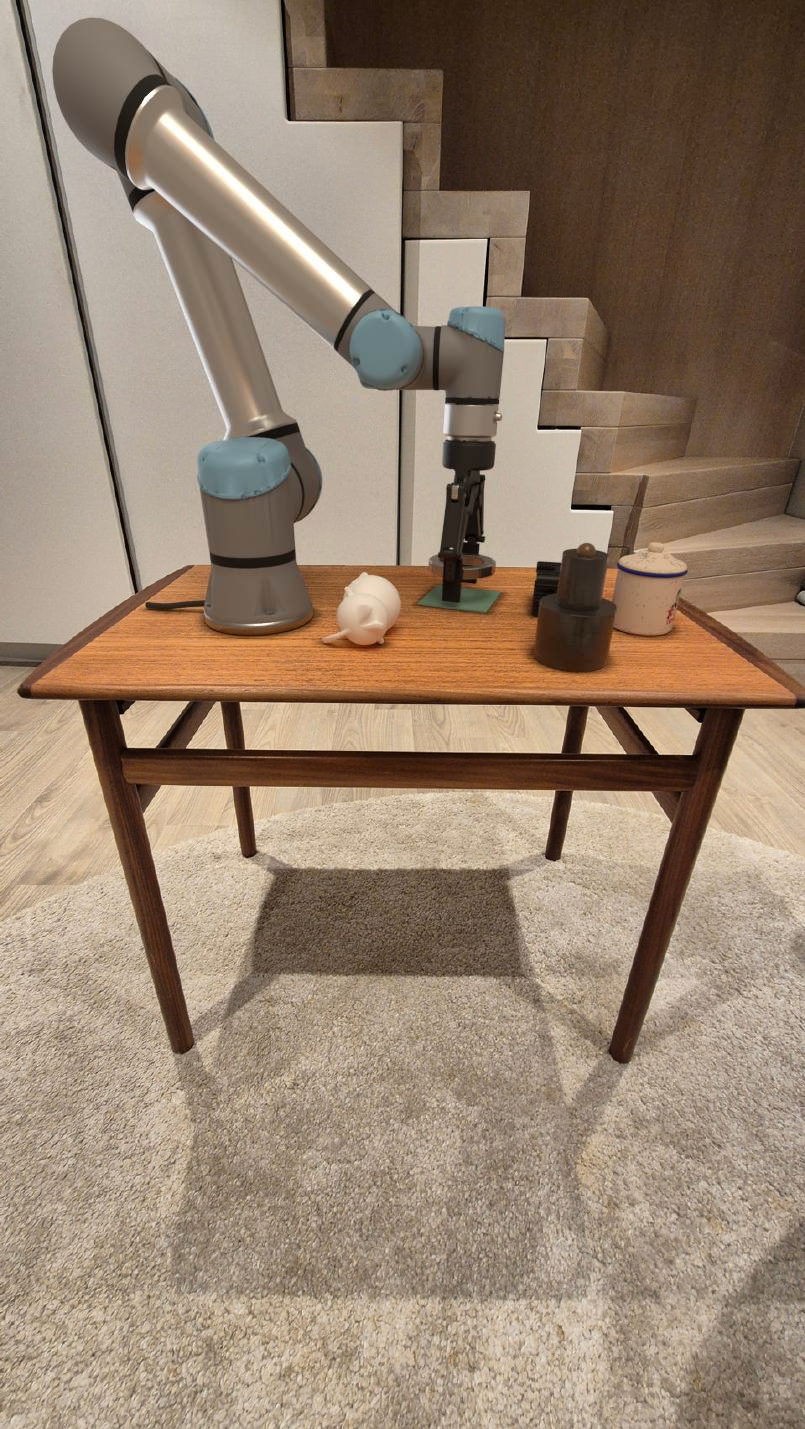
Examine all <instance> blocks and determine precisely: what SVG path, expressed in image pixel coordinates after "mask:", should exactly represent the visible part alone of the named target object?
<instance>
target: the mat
mask: <svg viewBox="0 0 805 1429" xmlns="http://www.w3.org/2000/svg"><path fill="white" fill-rule="evenodd" d="M442 585H443V584H437V585H435V587H433V588H432V589H431V590H430V591H429V592H427V594H425V595H424V597H422V598H421V599H420V600H419V601H418V602H417V603H416V604H417V606H421V607H422V606H424V607H432V608H439V609H447V610H454V611H455V610H456V611H463V612H471V613H481V614H488V612H489V611H490V610H491V608H492V607H493V605H494V604H495V602H496V601H497V600H498V599H499V597H500V595H501V594H502V591H499V590H491V589H482V588H481V589H480V588H471V587H462V586H461V596H460V602H459V603H456V602H448V601H442Z"/></svg>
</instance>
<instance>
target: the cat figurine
mask: <svg viewBox="0 0 805 1429" xmlns="http://www.w3.org/2000/svg"><path fill="white" fill-rule="evenodd" d="M343 590H344V593H343V596H342V601H341V602H340V603H339V605H338V608H337V610H336V622H337V626H338V629H339V630H340V631H339V632H337V633H334V634H331V635H327V636H325V637H322V639H321V641H322V642H323V643H324V644H329V643H332V642H335V641H337V640H339V639H341V638H343V637H346V639H348V640H349V641H350V642H352V643H354V644H356V645H358V646H359V645H360V646H369V645H373V644H376V643H378V644H379V645H382V644H384V643H385V639H384V636H385V634H386V633H387V631H388V630H390V629H391V628H392V627H393V626H394V625H395V624H396V623H397V621H398V619H399V617H400V615H401V610H402V601H401V596H400V593H399V591H398V590H397V587H396V586H394V584H393V583H392V582H391V581H389V580H388V579H386V578H384V577H382V576H380V575H374V574H368V572H366V571H363V572H361V574H359V576H358V577H357V578H356V579H354V580H353V581H352V582H351V583H349V585H348V586H345V587H344V588H343Z"/></svg>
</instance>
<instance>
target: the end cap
mask: <svg viewBox="0 0 805 1429" xmlns="http://www.w3.org/2000/svg"><path fill="white" fill-rule="evenodd" d="M560 568H561V562H558V561H543V560H541V561H540V560H538V561H536V569H535V573H536V577H535V579H534V585H533V595H532V606H531V616H532V617H536V618H538V612H539V604H540V600H541V598H543V597H544V596H547V595H551V594H557V590H558V583H559V576H560Z"/></svg>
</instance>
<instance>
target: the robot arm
mask: <svg viewBox="0 0 805 1429" xmlns="http://www.w3.org/2000/svg"><path fill="white" fill-rule="evenodd" d="M51 68H52V71H51V74H52V82H53V83H52V84H53V90H54V92H55V93H54V94H55V98H56V101H57V103H58V106H59V109H60V112H61V115H62V117H63V119H64V120H65V122H66V124H67V126H68V128H69V130H70V131H71V133H72V134H73V136H75V138H76V139H77V141H78V142H79V143H80V145H82V146H83V147H84V148H85V149H86V150H87V151H88V152H89V153H90V154H92V155H93V156H94V157H95V158H97V160H99V161H100V162H102V163H103V164H105V165H107V167H110V169H113V170H114V171H116V173H117V175H118V179H119V180H120V183H121V186H122V188H123V191H124V194H125V197H126V199H127V201H128V205H129V207H130V210H131V211H132V214H133V216H134V219H135V221H136V222H137V223H139V224H141V225H142V226H143V227H145V228H146V229H147V230H149V231H151V232H152V233H153V235H154V238H155V241H156V243H157V247H158V249H159V251H160V254H161V257H162V260H163V262H164V265H165V267H166V271H167V273H168V275H169V279H170V282H171V284H172V286H173V289H174V291H175V294H176V296H177V297H176V298H177V299H178V301H179V305H180V307H181V310H182V313H183V315H184V316H183V317H184V318H185V321H186V324H187V326H188V330H189V332H190V335H191V337H192V339H193V342H194V345H195V347H196V350H197V353H198V356H199V358H200V360H201V363H202V364H201V365H202V366H203V369H204V371H205V374H206V376H207V379H208V382H209V385H210V387H211V391H212V393H213V395H214V398H215V401H216V403H217V406H218V409H219V411H220V414H221V416H222V420H223V422H224V425H225V427H226V432H225V434H224V437H223V439H219V440H215V441H212V442H210V443H207V444H206V445H204V446H202V447H201V448H200V449H199V451H198V453H197V455H196V456H197V457H196V465H197V474H196V479H197V484H198V486H199V493H200V500H201V506H202V513H203V520H204V526H205V531H206V532H205V533H206V539H207V548H208V552H209V561H210V573H209V577H208V583H207V588H206V595H205V599H200V600H185V601H175V602H153V601H146V602H145V603H144V604H145V605H144V606H145V608H146V609H152V610H178V609H186V608H187V609H188V608H200V607H201V608H203V616H204V621H205V624H206V625H207V627H209V628H211V629H212V630H215V631H218V632H220V633H225V634H229V635H230V634H231V635H240V636H261V635H270V634H277V633H278V634H279V633H283V632H287V631H291V630H294V629H297V628H299V627H302V626H304V625H305V624H307V623H308V622H310V620H312V618H313V615H314V611H313V610H314V608H313V603H312V599H311V596H310V594H309V591H308V589H307V586H306V583H305V580H304V577H303V573H301V571H300V568H299V565H298V563H297V553H296V552H297V551H296V550H297V549H296V538H295V537H296V536H295V524H296V523H299V522H300V521H302V520H304V519H305V518H306V517H308V516H309V515H310V514H311V513H312V512H313V510H314V508H315V507H316V505H317V503H318V502H319V499H320V497H321V494H322V490H323V473H322V470H321V466H320V464H319V461H318V460H317V458H316V456H315V455H314V453H312V452H311V450H310V449H309V448H307V447H306V443H305V441H304V438H303V435H302V432H301V430H300V427H299V423H298V421H297V419H295V418H294V417H292V416H290V415H289V414H287V413H286V412H285V411H284V410H283V407H282V404H281V401H280V399H279V396H278V392H277V389H276V387H275V383H274V380H273V377H272V375H271V372H270V369H269V366H268V362H267V359H266V356H265V353H264V350H263V348H262V344H261V341H260V339H259V338H260V337H259V336H258V332H257V330H256V326H255V324H254V320H253V318H252V314H251V311H250V309H249V305H248V302H247V300H246V297H245V296H246V295H245V293H244V291H243V288H242V285H241V282H240V279H239V276H238V273H237V270H236V267H235V263H237V265H239V266H240V267H241V268H242V269H244V270H245V271H246V273H248V274H249V275H250V276H251V277H252V278H253V279H255V281H256V282H258V283H259V284H260V285H261V286H262V287H263V288H265V289H266V290H267V292H269V293H270V294H271V295H273V297H274V298H276V299H277V300H278V301H279V302H280V303H281V304H283V306H285V307H286V308H287V309H288V310H289V311H290V312H291V313H293V314H294V315H295V317H297V318H298V319H299V320H300V321H301V322H303V324H305V325H306V326H307V327H309V328H310V329H311V330H312V331H313V332H314V333H315V334H316V335H317V336H319V338H320V339H322V340H323V341H324V342H325V343H326V344H328V345H329V346H330V348H332V349H333V350H334V351H335V352H337V354H338V355H339V356H340V357H341V358H343V360H345V362H347V363H348V364H349V365H350V366H351V367H352V368H353V369H354V370H355V372H356V374H357V377H358V379H359V383H360V385H361V386H362V387H363V388H365V389H368V390H378V391H383V392H387V391H391V392H392V391H444V394H445V399H444V412H443V414H444V415H443V430H442V432H443V435H444V436H445V437H446V439H445V440H444V442H442V461H441V465H442V466H443V468H444V469H447V470H453V471H454V476H453V482H451V483H447V484H446V487H445V492H446V493H445V506H444V507H445V508H444V515H443V524H442V531H441V540H440V547H439V552H437V555H438V558H444V565H443V577H442V584H441V585H442V601H448V602H456V603H459V602H460V596H461V587H462V583H463V584H470V585H477V583H478V579H465V580H463V579H462V566H471V565H463V559H462V558H461V553H473V554H477V555H478V554H480V544H481V543H483V544H485V542H486V536H484V534H485V530H484V521H485V520H484V519H485V511H484V509H485V484H486V483H485V482H486V474H481V472H482V471H490V470H492V469H493V468H494V467H495V461H496V447H497V443H496V441H494V440H492V438H495V437H496V436H497V434H498V422H501V421H502V420H503V415H502V413H501V412H499V406H500V398H501V388H502V379H503V378H502V377H503V369H504V368H503V367H504V356H505V337H506V317H505V315H504V313H503V311H502V310H500V309H499V308H496V307H491V306H479V305H477V306H476V305H475V306H458V307H454V308H452V309H451V310H450V312H449V313H448V314H449V315H448V320H447V322H446V324H445V325H436V326H427V325H426V326H425V325H413V324H412V323H411V322H410V321H409V320H408V319H406V318H405V316H403V315H402V314H401V313H400V312H398V311H396V309H394V308H393V306H391V305H390V304H389V303H388V302H387V301H386V300H385V299H384V298H383V297H381V296H380V295H379V294H378V293H377V292H376V291H374V290H373V288H372V287H371V286H370V285H369V284H368V283H367V282H366V281H365V280H363V279H362V278H361V277H360V276H359V275H358V274H357V273H356V272H355V271H354V270H353V269H352V268H351V267H350V266H349V265H347V263H345V262H344V261H343V260H342V259H341V258H340V257H339V256H338V254H336V253H335V252H334V251H333V250H332V249H330V247H328V246H327V244H325V243H324V242H323V241H322V240H321V239H320V238H319V237H318V236H317V235H316V234H315V233H313V231H312V230H310V229H309V228H308V227H307V226H306V225H305V224H304V223H303V222H302V221H301V220H300V219H299V218H298V217H297V216H296V215H295V214H294V213H293V212H292V211H290V210H289V209H288V207H286V206H285V205H284V204H283V203H282V202H280V200H278V198H276V197H275V196H274V195H273V194H272V193H271V192H270V191H269V190H268V189H266V187H265V186H264V185H263V184H262V183H260V182H259V181H258V180H257V178H255V177H254V176H253V175H252V174H251V173H250V172H249V171H248V170H247V169H245V167H243V166H242V165H241V164H240V163H239V162H238V161H237V160H236V159H235V158H234V157H232V156H231V154H229V153H228V152H227V151H226V149H224V148H223V147H222V146H221V145H220V144H219V143H218V142H217V141H216V140H215V137H214V133H213V131H212V128H211V125H210V123H209V120H208V118H207V115H205V113H204V111H203V109H202V108H201V106H200V105H199V103H198V101H197V99H196V97H195V96H194V95H193V94H192V93H191V91H190V90H189V88H188V87H186V85H185V84H183V83H182V82H181V81H180V80H179V79H178V78H177V77H176V76H174V75H172V74H171V73H170V72H169V71H168V70H167V69H166V68H165V66H163V64H161V62H159V60H158V59H156V58H155V56H154V55H153V54H152V53H151V52H150V51H149V50H148V49H147V48H146V47H145V46H144V45H143V43H142V42H141V41H140V40H138V38H136V37H135V36H134V35H133V34H132V33H131V32H130V31H128V30H127V29H125V28H124V27H122V26H121V25H119V24H118V23H115V22H114V21H111V20H108V19H105V18H103V17H85V18H81V19H78V20H76V21H75V22H73V23H71V24H69V25H68V27H67V28H66V29H65V30H64V31H63V32H62V33H61V35H60V37H59V39H58V41H57V43H56V45H55V49H54V53H53V56H52V67H51ZM234 262H235V263H234Z"/></svg>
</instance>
